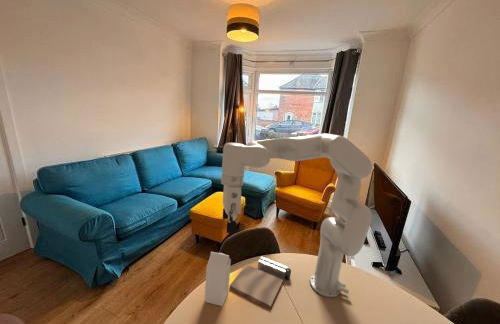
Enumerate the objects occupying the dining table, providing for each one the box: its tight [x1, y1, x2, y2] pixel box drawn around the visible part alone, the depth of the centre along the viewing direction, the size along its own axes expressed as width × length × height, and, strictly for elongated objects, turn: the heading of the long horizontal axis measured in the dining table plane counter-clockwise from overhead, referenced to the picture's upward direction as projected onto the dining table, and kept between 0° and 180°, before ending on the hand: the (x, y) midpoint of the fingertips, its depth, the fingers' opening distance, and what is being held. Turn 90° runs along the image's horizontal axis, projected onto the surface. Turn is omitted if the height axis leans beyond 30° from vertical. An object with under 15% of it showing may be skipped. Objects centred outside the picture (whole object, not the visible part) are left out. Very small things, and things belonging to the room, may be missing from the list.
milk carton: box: [204, 251, 232, 307], centre depth 79 cm, size 7×7×19 cm
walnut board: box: [228, 264, 284, 310], centre depth 88 cm, size 18×15×2 cm
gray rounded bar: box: [257, 256, 292, 281], centre depth 96 cm, size 15×4×4 cm, turn 63°
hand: (228, 224), depth 74 cm, fingers open, 9 cm apart
